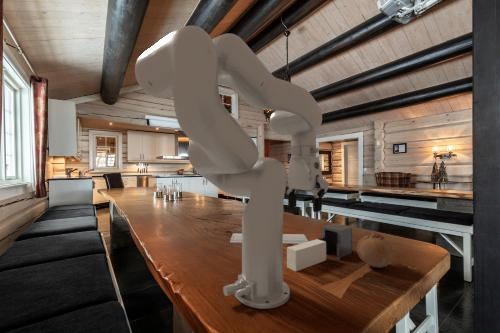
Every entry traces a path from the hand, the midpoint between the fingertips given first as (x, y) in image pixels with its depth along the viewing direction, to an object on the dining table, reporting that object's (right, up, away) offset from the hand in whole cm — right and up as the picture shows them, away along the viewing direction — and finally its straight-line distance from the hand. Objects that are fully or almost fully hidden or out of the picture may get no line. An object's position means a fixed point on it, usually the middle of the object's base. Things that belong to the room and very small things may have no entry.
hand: (304, 208), depth 70 cm
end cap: (+13, -17, +10) cm, 24 cm away
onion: (+20, -17, -2) cm, 27 cm away
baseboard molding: (-9, -18, +24) cm, 31 cm away
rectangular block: (+1, -17, 0) cm, 17 cm away
